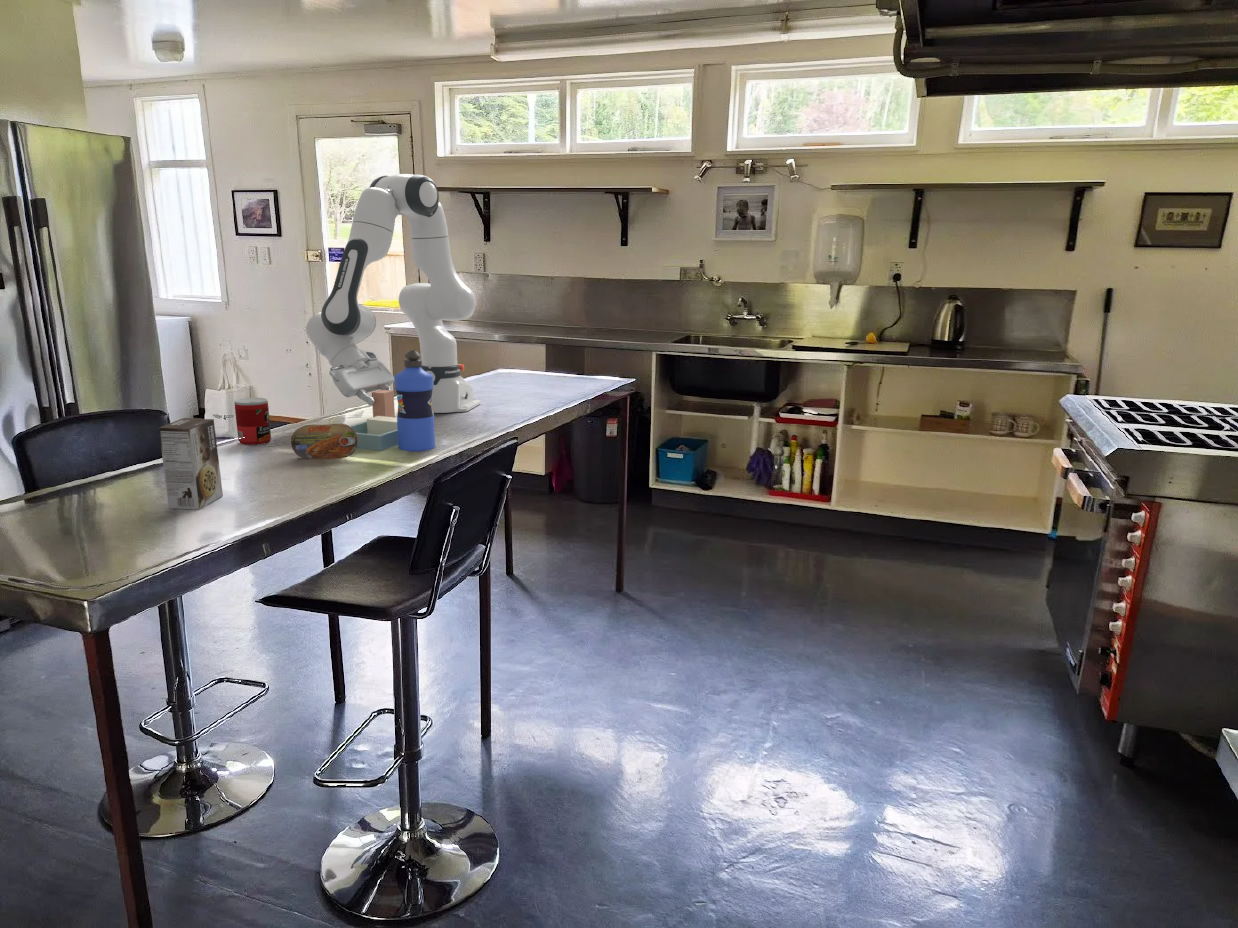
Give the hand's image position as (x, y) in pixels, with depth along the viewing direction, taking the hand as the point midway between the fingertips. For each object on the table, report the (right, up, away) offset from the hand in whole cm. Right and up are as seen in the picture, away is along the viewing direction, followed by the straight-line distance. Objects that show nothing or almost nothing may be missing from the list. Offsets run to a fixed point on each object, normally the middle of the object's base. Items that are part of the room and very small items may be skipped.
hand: (382, 401), depth 223 cm
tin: (-5, -16, -28) cm, 33 cm away
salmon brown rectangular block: (0, -8, +2) cm, 8 cm away
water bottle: (+14, -14, -19) cm, 28 cm away
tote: (+3, -12, -13) cm, 18 cm away
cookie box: (-18, -25, -64) cm, 71 cm away
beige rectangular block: (+4, -10, -10) cm, 15 cm away
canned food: (-29, -12, -14) cm, 34 cm away
